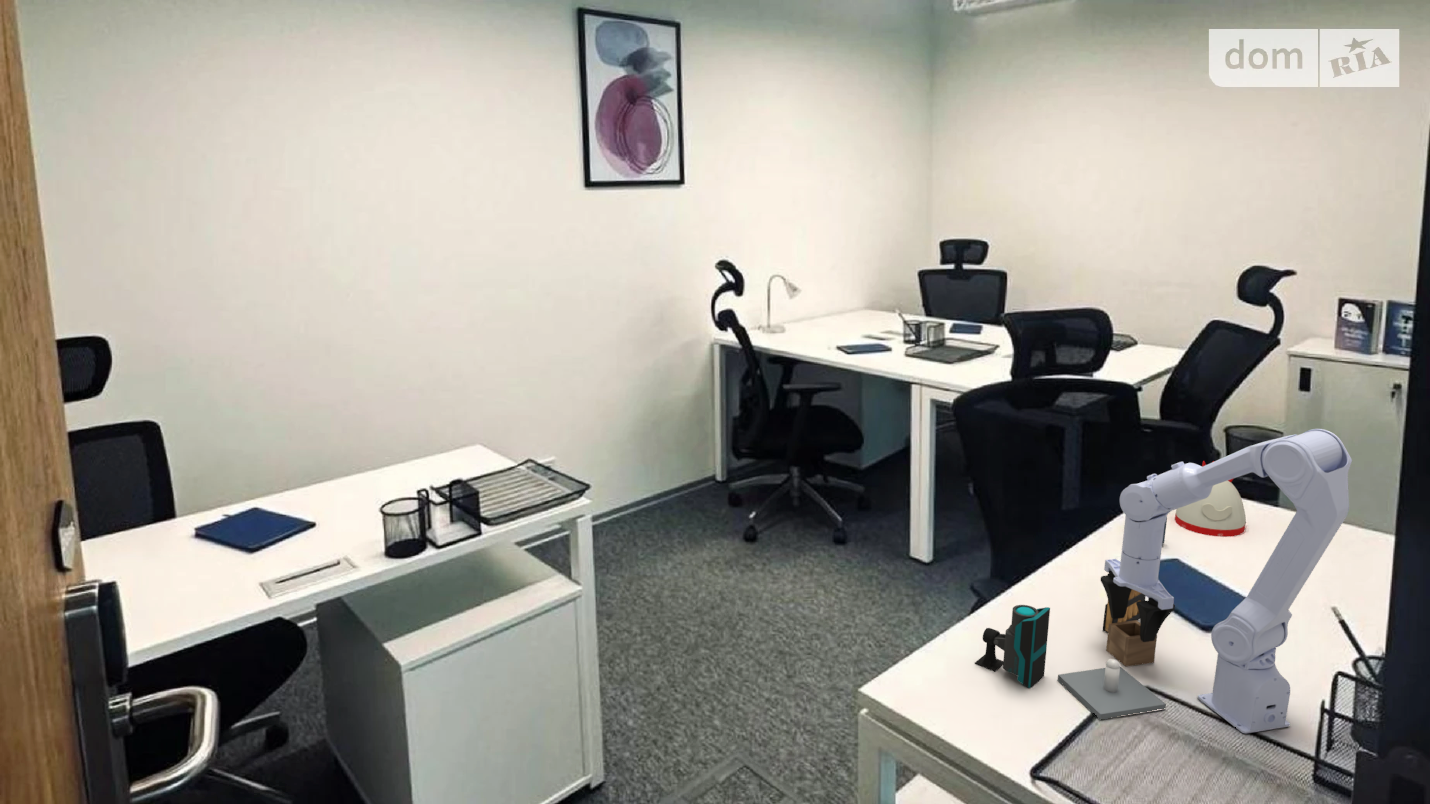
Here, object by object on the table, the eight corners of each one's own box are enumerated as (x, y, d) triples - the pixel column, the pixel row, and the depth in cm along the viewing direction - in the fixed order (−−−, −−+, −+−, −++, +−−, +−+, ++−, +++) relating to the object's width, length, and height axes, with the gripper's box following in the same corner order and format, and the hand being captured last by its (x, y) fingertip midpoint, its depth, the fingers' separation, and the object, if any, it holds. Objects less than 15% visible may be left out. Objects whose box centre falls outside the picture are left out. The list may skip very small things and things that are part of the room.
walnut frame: (1153, 662, 148) (1157, 635, 147) (1125, 666, 147) (1128, 639, 146) (1133, 646, 153) (1136, 620, 152) (1106, 650, 152) (1108, 623, 151)
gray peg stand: (1165, 709, 135) (1169, 674, 134) (1099, 720, 133) (1103, 684, 132) (1119, 671, 146) (1122, 637, 144) (1057, 680, 144) (1060, 646, 142)
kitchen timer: (1170, 510, 212) (1178, 449, 208) (1237, 516, 207) (1245, 454, 204) (1180, 533, 199) (1188, 468, 195) (1250, 540, 195) (1260, 474, 191)
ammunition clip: (1111, 635, 157) (1118, 572, 154) (1101, 631, 158) (1108, 568, 155) (1144, 616, 163) (1150, 555, 160) (1134, 612, 165) (1140, 551, 161)
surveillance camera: (992, 587, 149) (1051, 607, 142) (988, 653, 152) (1045, 675, 145) (975, 599, 145) (1035, 620, 138) (971, 666, 148) (1029, 689, 141)
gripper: (1091, 537, 151) (1084, 610, 155) (1149, 574, 138) (1139, 654, 141) (1128, 533, 153) (1120, 606, 156) (1189, 569, 139) (1179, 648, 143)
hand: (1132, 628), depth 149 cm, fingers open, 7 cm apart
